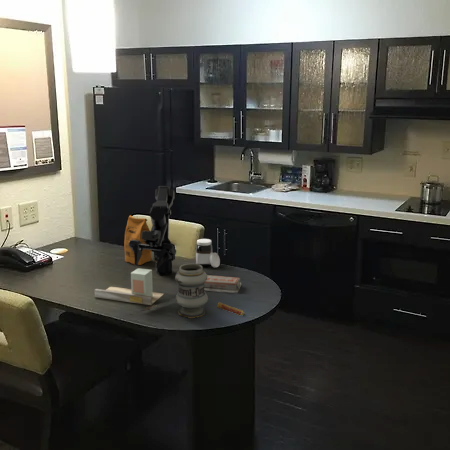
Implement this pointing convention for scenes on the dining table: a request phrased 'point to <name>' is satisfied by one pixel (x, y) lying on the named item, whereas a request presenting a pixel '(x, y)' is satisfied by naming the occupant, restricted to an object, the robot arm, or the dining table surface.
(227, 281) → the packaged product
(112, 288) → the shelf
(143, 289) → the carton
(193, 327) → the dining table surface
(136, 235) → the coffee package
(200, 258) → the spread jar
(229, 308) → the chocolate bar
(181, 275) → the apothecary jar
